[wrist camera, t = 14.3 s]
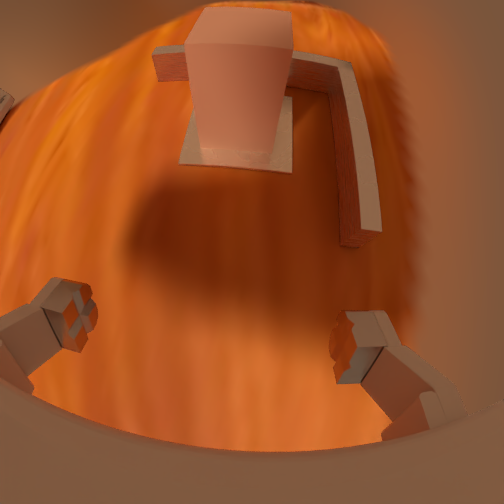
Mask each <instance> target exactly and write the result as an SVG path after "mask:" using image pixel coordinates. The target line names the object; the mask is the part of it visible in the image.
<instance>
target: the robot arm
mask: <svg viewBox="0 0 504 504" xmlns="http://www.w3.org/2000/svg"><path fill="white" fill-rule="evenodd" d="M13 102H14V98H13V97H12V96H11V95H10V94H8V93H7V92H5V91H4V90H2V89H0V123H1V121H2V119H3V118H4V116H5V115H6V113H7V112H8V110H9V109H10V107H11V106H12V104H13ZM92 294H93V293H92V290H91V287H90V285H88V284H87V283H82V282H77V281H72V280H68V279H62V278H58V277H54V278H51V280H50V281H49V282H48V283H47V284H46V285H45V286H44V288H43V289H42V290H41V291H40V292H39V293H38V295H37V296H36V297H35V298H34V299H33V301H32V302H31V303H30V304H25V305H23V306H21V307H19V308H17V309H15V310H13V311H11V312H9V313H7V314H6V315H4V316H2V317H0V504H504V399H503V400H501V401H499V402H497V403H495V404H493V405H491V406H489V407H486V408H484V409H482V410H480V411H478V412H475V413H473V414H470V415H468V414H467V411H466V409H465V406H464V404H463V401H462V399H461V397H460V394H459V392H458V390H457V388H456V385H455V384H454V383H453V382H451V381H450V380H449V379H448V378H446V377H445V376H444V375H443V374H441V373H440V372H439V371H438V370H436V369H435V368H434V367H433V366H431V365H430V364H429V363H427V362H426V361H425V360H424V359H423V358H421V357H420V356H419V355H417V354H416V353H415V352H414V351H412V350H411V349H410V348H408V347H407V346H402V344H401V342H400V340H399V338H398V336H397V333H396V331H395V329H394V327H393V325H392V323H391V321H390V319H389V317H388V315H387V313H386V312H385V311H384V310H370V311H361V310H341V312H340V313H339V315H338V317H337V322H338V326H336V327H335V328H334V329H333V330H332V332H331V335H330V340H329V352H330V356H331V358H332V359H334V360H335V361H336V363H335V365H334V367H333V370H334V374H335V379H336V383H337V384H355V383H361V384H360V385H361V386H362V387H363V388H364V389H365V390H366V392H367V393H368V394H369V395H370V396H371V397H372V398H373V400H374V401H375V402H376V403H377V404H378V405H379V407H380V408H381V409H382V410H383V411H384V412H385V413H386V415H387V416H388V417H389V418H390V419H391V420H392V421H393V422H392V423H391V424H390V425H389V426H388V427H387V428H386V429H384V430H383V432H382V433H381V436H382V440H383V441H381V442H376V443H370V444H364V445H358V446H351V447H344V448H336V449H326V450H314V451H295V452H255V451H236V450H224V449H214V448H205V447H198V446H191V445H185V444H179V443H173V442H168V441H163V440H158V439H154V438H149V437H145V436H141V435H137V434H133V433H130V432H126V431H122V430H119V429H116V428H112V427H109V426H106V425H103V424H100V423H97V422H94V421H91V420H89V419H86V418H83V417H81V416H78V415H75V414H73V413H70V412H68V411H66V410H63V409H61V408H59V407H56V406H54V405H52V404H50V403H48V402H46V401H43V400H41V399H39V398H37V397H35V396H33V395H31V394H32V392H33V390H34V385H33V384H32V383H31V381H30V380H29V379H28V377H27V376H29V375H30V374H31V373H32V372H33V371H35V370H36V369H37V368H38V367H40V366H41V365H42V364H43V363H45V362H46V361H47V360H49V359H50V358H51V357H52V356H54V355H55V354H56V353H57V352H59V351H60V350H61V349H62V348H64V349H68V350H71V351H75V352H78V353H81V351H82V350H83V348H84V346H85V344H86V342H87V340H88V336H87V333H89V332H91V331H92V330H94V328H95V326H96V324H97V319H98V309H97V306H96V303H95V302H94V301H93V300H92V299H91V296H92Z"/></svg>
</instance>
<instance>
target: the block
mask: <svg viewBox="0 0 504 504" xmlns="http://www.w3.org/2000/svg"><path fill="white" fill-rule="evenodd" d="M184 48H185V55H186V62H187V69H188V76H189V82H190V89H191V95H192V101H193V107H194V113H195V119H196V125H197V131H198V137H199V142H200V148H206V149H224V150H237V151H249V152H260V153H269V154H272V151H273V146H274V141H275V136H276V131H277V126H278V122H279V117H280V112H281V107H282V102H283V98H284V93H285V88H286V83H287V78H288V74H289V69H290V64H291V59H292V54H293V33H292V19H291V12H287V11H279V10H270V9H260V8H244V7H205V9H204V10H203V12H202V14H201V15H200V17H199V19H198V20H197V22H196V24H195V25H194V27H193V29H192V30H191V32H190V34H189V36H188V38H187V39H186V41H185V43H184Z"/></svg>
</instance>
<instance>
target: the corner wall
mask: <svg viewBox="0 0 504 504" xmlns="http://www.w3.org/2000/svg"><path fill="white" fill-rule="evenodd" d="M152 59H153V63H154V67H155V70H156V74H157V78H158V82H160V81H182V80H189V76H188V69H187V62H186V55H185V48H184V45H174V46H161V47H156V48H155V50H154V52H153V53H152ZM286 86H287V87H294V88H301V89H307V90H312V91H318V92H323V93H328V96H329V103H330V111H331V118H332V127H333V135H334V145H335V156H336V167H337V181H338V198H339V223H340V246H345V247H354V248H359V247H361V246H362V245H364V244H365V243H367V242H368V241H370V240H371V239H372V238H374V237H375V236H377V235H378V234H380V233H381V232H382V222H381V211H380V202H379V193H378V185H377V178H376V171H375V165H374V158H373V153H372V147H371V142H370V137H369V132H368V127H367V122H366V118H365V113H364V109H363V105H362V101H361V97H360V93H359V89H358V86H357V82H356V78H355V75H354V72H353V68H352V65H351V62H347V61H343V60H339V59H335V58H330V57H326V56H321V55H316V54H311V53H306V52H300V51H293V54H292V59H291V64H290V69H289V74H288V78H287V83H286ZM178 164H179V165H186V166H206V167H222V168H235V169H247V170H257V171H267V172H276V173H284V174H292V97H288V96H284V98H283V102H282V107H281V112H280V117H279V122H278V126H277V131H276V136H275V141H274V146H273V151H272V154H269V153H260V152H249V151H237V150H224V149H206V148H200V142H199V137H198V131H197V125H196V119H195V113H194V108H193V111H192V115H191V118H190V122H189V125H188V129H187V132H186V136H185V140H184V143H183V147H182V151H181V155H180V159H179V163H178Z"/></svg>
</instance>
